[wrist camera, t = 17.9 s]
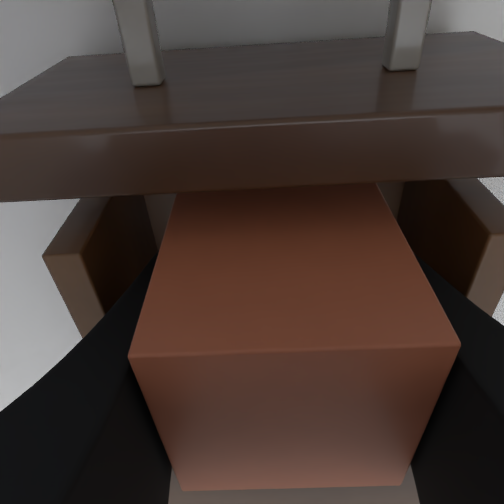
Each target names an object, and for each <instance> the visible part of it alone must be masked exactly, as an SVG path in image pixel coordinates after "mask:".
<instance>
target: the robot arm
mask: <svg viewBox="0 0 504 504" xmlns="http://www.w3.org/2000/svg"><path fill="white" fill-rule="evenodd" d="M159 250H160V249H159ZM159 250H158V251H157V253H156V254H155V255H154V256H153V257H152V259H151V260H150V261H149V262H148V264H147V265H146V266H145V268H144V269H143V270H142V271H141V273H140V274H139V275H138V276H137V278H136V279H135V280H134V281H133V283H132V284H131V285H130V286H129V287H128V289H127V290H126V291H125V292H124V293H123V295H122V296H121V297H120V298H119V299H118V300H117V302H116V303H115V304H114V305H113V306H112V308H111V309H110V310H109V311H108V312H107V313H106V314H105V315H104V317H103V318H102V319H101V320H100V321H99V322H98V323H97V324H96V325H95V326H94V327H93V328H92V329H91V330H90V332H89V333H88V334H87V335H86V336H85V337H84V338H83V339H82V340H81V341H80V342H79V343H78V344H77V345H76V346H75V347H74V348H73V349H72V350H71V351H70V352H69V353H68V354H67V355H66V356H65V357H64V358H63V359H62V360H61V361H60V362H59V363H58V364H56V365H55V366H54V367H53V368H52V369H51V370H50V371H49V372H48V373H47V374H45V375H44V376H43V377H42V378H41V379H40V380H39V381H38V382H36V383H35V384H34V385H33V386H32V387H30V388H29V389H28V390H27V391H26V392H24V393H23V394H22V395H21V396H19V397H18V398H17V399H16V400H14V401H13V402H12V403H11V404H9V405H8V406H7V407H6V408H5V409H3V410H2V411H1V412H0V504H168V502H169V491H170V481H171V472H172V465H171V463H170V460H169V458H168V455H167V453H166V450H165V448H164V445H163V443H162V441H161V438H160V436H159V433H158V431H157V428H156V426H155V423H154V421H153V418H152V416H151V413H150V411H149V409H148V406H147V404H146V401H145V399H144V396H143V394H142V391H141V389H140V386H139V384H138V382H137V379H136V377H135V374H134V372H133V369H132V367H131V364H130V362H129V359H128V353H129V350H130V346H131V343H132V340H133V336H134V333H135V330H136V326H137V323H138V320H139V316H140V313H141V310H142V306H143V303H144V300H145V296H146V293H147V290H148V286H149V283H150V280H151V276H152V273H153V270H154V266H155V263H156V260H157V256H158V253H159ZM412 252H413V251H412ZM413 253H414V252H413ZM414 255H415V257H416V259H417V261H418V263H419V265H420V267H421V268H422V270H423V272H424V274H425V276H426V278H427V280H428V282H429V284H430V285H431V287H432V289H433V291H434V293H435V295H436V297H437V299H438V300H439V302H440V304H441V306H442V308H443V310H444V312H445V314H446V316H447V317H448V319H449V321H450V323H451V325H452V327H453V329H454V331H455V332H456V334H457V336H458V338H459V340H460V342H461V347H460V349H459V351H458V354H457V356H456V358H455V361H454V363H453V365H452V368H451V370H450V372H449V375H448V377H447V379H446V382H445V384H444V386H443V389H442V391H441V393H440V396H439V398H438V400H437V403H436V405H435V407H434V410H433V412H432V414H431V417H430V419H429V421H428V424H427V426H426V428H425V431H424V433H423V435H422V438H421V440H420V442H419V445H418V447H417V449H416V452H415V454H414V456H413V459H412V461H411V463H410V464H411V468H412V472H413V477H414V481H415V485H416V489H417V493H418V498H419V502H420V504H504V326H503V325H502V324H500V323H499V322H498V321H496V320H495V319H494V318H492V317H491V316H490V315H488V314H487V313H486V312H484V311H483V310H482V309H480V308H479V307H478V306H477V305H475V304H474V303H473V302H472V301H470V300H469V299H468V298H467V297H465V296H464V295H463V294H462V293H460V292H459V291H458V290H457V289H456V288H454V287H453V286H452V285H451V284H450V283H448V282H447V281H446V280H445V279H444V278H443V277H441V276H440V275H439V274H438V273H437V272H436V271H435V270H433V269H432V268H431V267H430V266H429V265H428V264H427V263H425V262H424V261H423V260H422V259H421V258H420V257H419V256H418V255H416V254H415V253H414Z"/></svg>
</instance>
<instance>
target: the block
mask: <svg viewBox="0 0 504 504" xmlns="http://www.w3.org/2000/svg"><path fill="white" fill-rule="evenodd" d="M460 347H461V342H460V340H459V338H458V336H457V334H456V332H455V331H454V329H453V327H452V325H451V323H450V321H449V319H448V317H447V316H446V314H445V312H444V310H443V308H442V306H441V304H440V302H439V300H438V299H437V297H436V295H435V293H434V291H433V289H432V287H431V285H430V284H429V282H428V280H427V278H426V276H425V274H424V272H423V270H422V268H421V267H420V265H419V263H418V261H417V259H416V257H415V255H414V253H413V252H412V250H411V248H410V246H409V244H408V242H407V240H406V238H405V236H404V235H403V233H402V231H401V229H400V227H399V225H398V223H397V221H396V220H395V218H394V216H393V214H392V212H391V210H390V208H389V206H388V204H387V203H386V201H385V199H384V197H383V195H382V193H381V191H380V189H379V188H378V186H377V184H376V183H369V184H349V185H330V186H310V187H291V188H271V189H252V190H232V191H213V192H193V193H176V197H175V200H174V203H173V207H172V210H171V213H170V216H169V220H168V223H167V226H166V230H165V233H164V236H163V240H162V243H161V246H160V250H159V253H158V256H157V260H156V263H155V266H154V270H153V273H152V276H151V280H150V283H149V286H148V290H147V293H146V296H145V300H144V303H143V306H142V310H141V313H140V316H139V320H138V323H137V326H136V330H135V333H134V336H133V340H132V343H131V346H130V350H129V353H128V359H129V362H130V364H131V367H132V369H133V372H134V374H135V377H136V379H137V382H138V384H139V386H140V389H141V391H142V394H143V396H144V399H145V401H146V404H147V406H148V409H149V411H150V413H151V416H152V418H153V421H154V423H155V426H156V428H157V431H158V433H159V436H160V438H161V441H162V443H163V445H164V448H165V450H166V453H167V455H168V458H169V460H170V463H171V465H172V468H173V470H174V473H175V475H176V477H177V480H178V482H179V485H180V487H181V490H182V491H209V490H247V489H285V488H324V487H362V486H400V485H401V484H402V482H403V479H404V477H405V475H406V473H407V470H408V468H409V466H410V463H411V461H412V459H413V456H414V454H415V452H416V449H417V447H418V445H419V442H420V440H421V438H422V435H423V433H424V431H425V428H426V426H427V424H428V421H429V419H430V417H431V414H432V412H433V410H434V407H435V405H436V403H437V400H438V398H439V396H440V393H441V391H442V389H443V386H444V384H445V382H446V379H447V377H448V375H449V372H450V370H451V368H452V365H453V363H454V361H455V358H456V356H457V354H458V351H459V349H460Z"/></svg>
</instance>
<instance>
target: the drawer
mask: <svg viewBox="0 0 504 504" xmlns="http://www.w3.org/2000/svg"><path fill="white" fill-rule="evenodd" d="M112 2H113V6H114V10H115V15H116V19H117V23H118V27H119V32H120V36H121V40H122V45H123V49H124V53H119V54H103V55H87V56H71V57H67V58H66V59H64V60H62V61H61V62H59V63H57V64H56V65H54V66H52V67H51V68H49V69H47V70H46V71H44V72H43V73H41V74H39V75H38V76H36V77H34V78H33V79H31V80H29V81H28V82H26V83H24V84H23V85H21V86H19V87H18V88H16V89H14V90H13V91H11V92H10V93H8V94H6V95H5V96H3V97H1V98H0V202H18V201H37V200H57V199H76V198H80V200H79V201H78V203H77V204H76V206H75V207H74V209H73V210H72V212H71V213H70V215H69V216H68V218H67V219H66V221H65V222H64V224H63V225H62V227H61V228H60V230H59V231H58V233H57V234H56V235H55V237H54V238H53V240H52V241H51V243H50V244H49V246H48V247H47V249H46V250H45V252H44V253H43V255H42V258H43V260H44V262H45V264H46V266H47V268H48V270H49V272H50V274H51V276H52V278H53V280H54V282H55V284H56V286H57V288H58V290H59V292H60V294H61V296H62V298H63V300H64V302H65V304H66V306H67V308H68V310H69V312H70V314H71V316H72V318H73V320H74V322H75V324H76V326H77V328H78V330H79V332H80V334H81V336H82V338H84V337H85V336H86V335H87V334H88V333H89V332H90V330H91V329H92V328H93V327H94V326H95V325H96V324H97V323H98V322H99V321H100V320H101V319H102V318H103V317H104V315H105V314H106V313H107V312H108V311H109V310H110V309H111V308H112V306H113V305H114V304H115V303H116V302H117V300H118V299H119V298H120V297H121V296H122V295H123V293H124V292H125V291H126V290H127V289H128V287H129V286H130V285H131V284H132V283H133V281H134V280H135V279H136V278H137V276H138V275H139V274H140V273H141V271H142V270H143V269H144V268H145V266H146V265H147V264H148V262H149V261H150V260H151V259H152V257H153V256H154V255H155V254H156V253H157V251H158V250H159V249H160V246H161V243H162V240H163V236H164V233H165V230H166V226H167V223H168V220H169V216H170V213H171V210H172V207H173V203H174V200H175V197H176V193H193V192H213V191H232V190H252V189H271V188H291V187H310V186H330V185H349V184H369V183H376V184H377V186H378V188H379V189H380V191H381V193H382V195H383V197H384V199H385V201H386V203H387V204H388V206H389V208H390V210H391V212H392V214H393V216H394V218H395V220H396V221H397V223H398V225H399V227H400V229H401V231H402V233H403V235H404V236H405V238H406V240H407V242H408V244H409V246H410V248H411V250H412V251H413V252H414V253H415V254H416V255H418V256H419V257H420V258H421V259H422V260H423V261H424V262H425V263H427V264H428V265H429V266H430V267H431V268H432V269H433V270H435V271H436V272H437V273H438V274H439V275H440V276H441V277H443V278H444V279H445V280H446V281H447V282H448V283H450V284H451V285H452V286H453V287H454V288H456V289H457V290H458V291H459V292H460V293H462V294H463V295H464V296H465V297H467V298H468V299H469V300H470V301H472V302H473V303H474V304H475V305H477V306H478V307H479V308H480V309H482V310H483V311H484V312H486V313H487V314H488V315H490V316H491V317H492V315H493V313H494V311H495V309H496V307H497V304H498V302H499V300H500V298H501V296H502V294H503V292H504V205H503V204H502V203H501V202H500V201H499V200H498V199H497V198H496V197H495V196H494V195H493V194H492V193H491V192H490V191H489V190H488V189H487V188H486V187H485V186H484V185H483V184H482V183H481V182H480V181H479V180H478V179H477V178H486V177H504V43H503V42H500V41H498V40H495V39H493V38H490V37H487V36H485V35H482V34H479V33H477V32H474V31H469V32H453V33H437V34H426V29H427V24H428V18H429V13H430V8H431V3H432V0H390V5H389V12H388V20H387V27H386V34H385V37H373V38H357V39H341V40H326V41H310V42H294V43H278V44H262V45H246V46H230V47H214V48H198V49H182V50H167V51H161V47H160V41H159V36H158V30H157V25H156V19H155V14H154V8H153V3H152V0H112Z"/></svg>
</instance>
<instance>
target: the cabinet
mask: <svg viewBox="0 0 504 504" xmlns="http://www.w3.org/2000/svg"><path fill="white" fill-rule="evenodd" d="M168 504H420V502H419V498H418V493H417V489H416V485H415V481H414V477H413V472H412V468H411V464H410V466H409V468H408V470H407V473H406V475H405V477H404V479H403V482H402V484H401V485H400V486H362V487H324V488H285V489H247V490H209V491H182V490H181V487H180V485H179V482H178V480H177V477H176V475H175V473H174V470H173V468H172V472H171V481H170V491H169V502H168Z"/></svg>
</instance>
